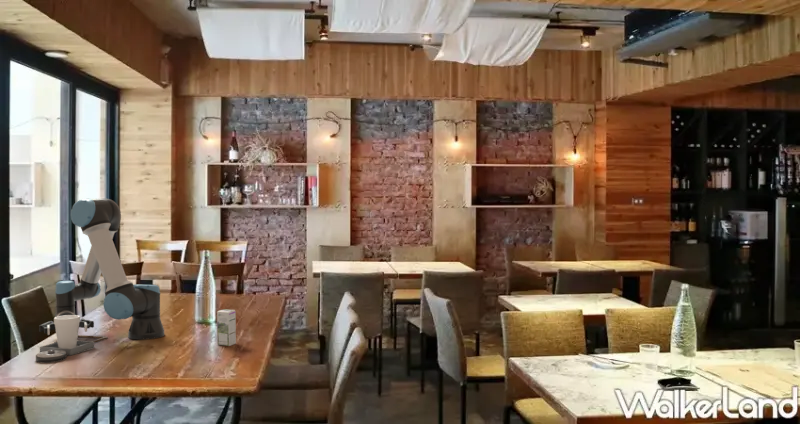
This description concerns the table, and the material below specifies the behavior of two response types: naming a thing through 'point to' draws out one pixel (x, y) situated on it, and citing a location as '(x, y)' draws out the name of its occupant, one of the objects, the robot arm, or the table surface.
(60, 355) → the metal pot lid
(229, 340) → the syrup box
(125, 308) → the robot arm
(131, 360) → the table surface
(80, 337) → the square wooden frame
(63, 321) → the foam cup
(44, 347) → the tray
